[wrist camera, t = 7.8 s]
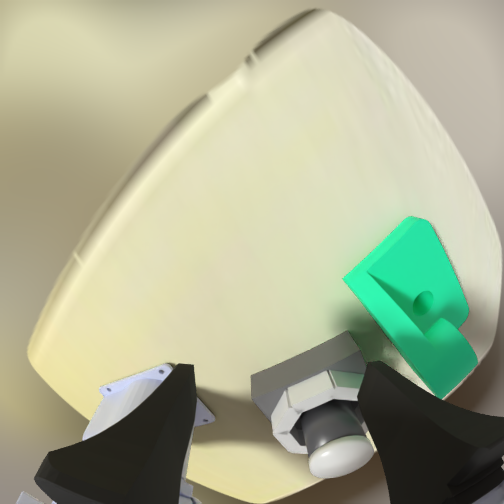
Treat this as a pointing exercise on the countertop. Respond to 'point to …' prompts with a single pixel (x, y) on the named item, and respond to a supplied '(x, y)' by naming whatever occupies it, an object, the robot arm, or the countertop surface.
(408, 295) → the camera mount
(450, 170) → the countertop surface
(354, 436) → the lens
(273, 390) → the square octagon-collar plate
